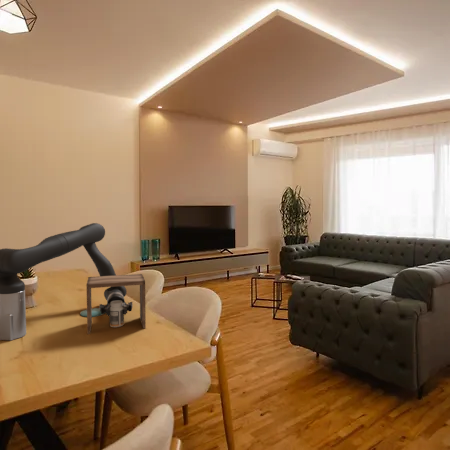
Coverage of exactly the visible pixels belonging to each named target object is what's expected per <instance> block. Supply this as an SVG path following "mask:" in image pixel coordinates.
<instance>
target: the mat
mask: <svg viewBox="0 0 450 450" xmlns="http://www.w3.org/2000/svg"><path fill="white" fill-rule="evenodd" d="M79 314H80V316H81V317H85V318H87V309H84V310H82V311H80V313H79ZM102 315H106V313H104V314H101V312H100V307H94V308H93V307H92V318H93V317H94V318H95V317H100V316H102Z"/></svg>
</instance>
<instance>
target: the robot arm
mask: <svg viewBox="0 0 450 450" xmlns="http://www.w3.org/2000/svg"><path fill="white" fill-rule="evenodd" d="M105 236H106V230H105V228H104V225H102V224H100V223H97V222H95V223H94V222H92V223H90V224H89V223H88V224H86V225H84V226H81V227H80V228H79V229H77V230H76V229H75V230H70V231H65V232H61V233H57V234H53V235H51V236H48V237H45V238H44V239H43V240H41V241H40V242H39V243H38V244H36V245H34V246H29V247H26V248H20V249H19V248H17V249H16V248H0V341H2V340H3V341H13V340H16V339H19V338H22V337H25V336H26V335H27V317H26V316H27V314H26V313H27V311H26V310H27V309H26V284H25V282H24V281H23V280H22V279H21V278H20V277H19V276H18V274H21V273H24V272H26V271H27V270H29V269H31V268H33V267H35V266H37V265H39V264H41V263H45V262H47V261H50V260H53V259H56V258H59V257H61V256H64V255H66V254H68V253H71V252H73V251H75V250H77V249H79V248H81V247H83V248H84V250H85V251H86V253H87V254H88V256H89V257H90V259H91V261H92V262H93V264H94V265H95V268H96V270H97V272H98V274H99V276H116V275H117V273H116V272H115V269H114V267H113V264H112V262H111V261H110V260H109V259H108V258H107V257H106V256H105V255H104V254H103V253H101V251H100V249H98V246H97V244H96V243H99V242H101V241H102V240H103V239H104V238H105ZM126 295H127V289H126V286H115V287H106V289H104V292H103V296H104V298H105V300H106V304H102V303H100V304H99V308H100V312H101V314H103V315H106V316H107V317H109V309H110V307H111V305H110V303H111V302H112V301H116V300H120V301H122V306H123V308H124V316H125V315H126V314H128V312H132V310H133V301H129V302H128V303H127V302H125V297H126ZM104 313H105V314H104Z"/></svg>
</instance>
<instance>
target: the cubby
mask: <svg viewBox="0 0 450 450" xmlns="http://www.w3.org/2000/svg"><path fill="white" fill-rule="evenodd" d="M85 286H86V310H87V317H86V323H87V325H86V328H87V329H86V331H87V335H91V331H92V324H93V317H92V308H93V307H92V306H93V305H92V289H97V288H98V289H99V288H110V287H115V286H124V287H127V286H131V287H132V286H139V319H140V322H141V325H142V329H146V325H147V324H146V280H145V277H144V274H143V273H137V274H136V273H135V274H133V273H132V274H121V275H120V274H119V275H118V274H116V276H100V275H99V276H89V277H87V281H86V285H85Z"/></svg>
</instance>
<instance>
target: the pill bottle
mask: <svg viewBox="0 0 450 450" xmlns="http://www.w3.org/2000/svg"><path fill="white" fill-rule="evenodd" d="M110 305H111V307H110V309H109V316H108V317H109V326H110V327H112V328H120V327H123V325H124V324H125V315H124V308H123V306H122V301H120V300H116V301H112V302H111V303H110Z"/></svg>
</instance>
